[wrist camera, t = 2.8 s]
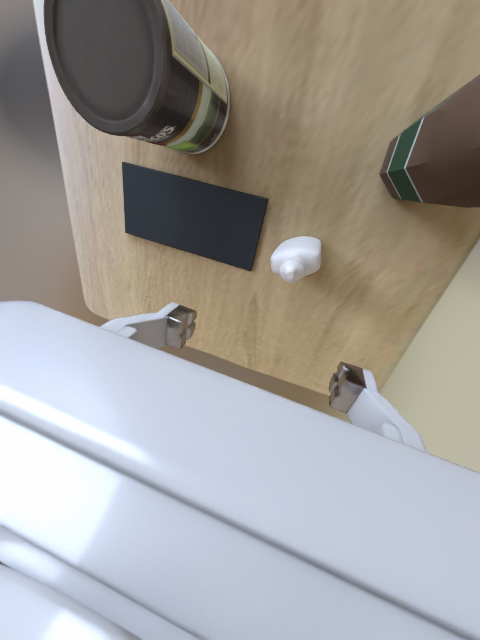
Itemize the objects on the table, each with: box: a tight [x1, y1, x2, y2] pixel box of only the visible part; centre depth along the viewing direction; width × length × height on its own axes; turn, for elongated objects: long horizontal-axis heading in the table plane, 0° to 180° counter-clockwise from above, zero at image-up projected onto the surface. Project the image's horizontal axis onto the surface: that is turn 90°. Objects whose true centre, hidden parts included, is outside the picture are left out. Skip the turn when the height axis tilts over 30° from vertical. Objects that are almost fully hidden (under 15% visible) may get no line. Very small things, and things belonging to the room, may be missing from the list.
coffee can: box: [44, 0, 230, 154], centre depth 23 cm, size 10×10×14 cm
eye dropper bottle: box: [271, 236, 321, 283], centre depth 28 cm, size 4×6×12 cm
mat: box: [122, 162, 268, 271], centre depth 36 cm, size 10×22×1 cm, turn 77°
